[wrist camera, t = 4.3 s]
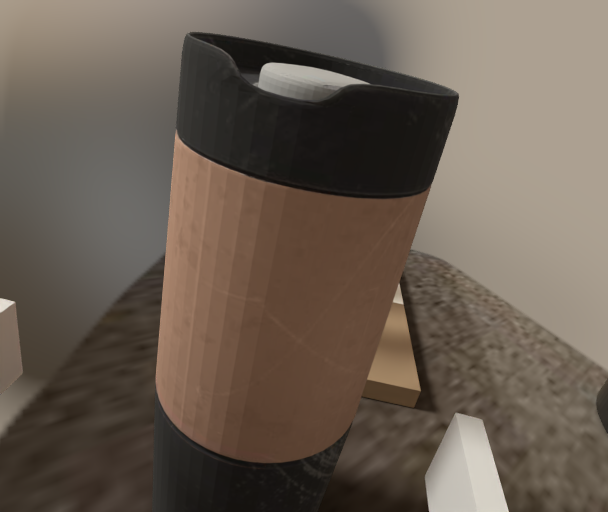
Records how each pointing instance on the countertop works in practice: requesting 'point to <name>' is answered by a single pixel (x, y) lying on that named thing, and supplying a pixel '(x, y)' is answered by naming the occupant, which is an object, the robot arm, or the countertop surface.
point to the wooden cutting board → (394, 362)
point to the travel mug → (281, 264)
